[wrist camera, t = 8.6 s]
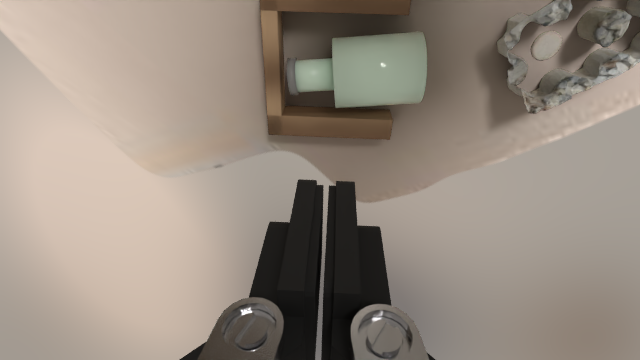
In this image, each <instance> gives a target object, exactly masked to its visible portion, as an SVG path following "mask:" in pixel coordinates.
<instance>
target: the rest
mask: <svg viewBox="0 0 640 360" xmlns="http://www.w3.org/2000/svg"><path fill="white" fill-rule="evenodd" d="M410 4H411V0H260V11H261V26H262V41H263V57H264V72H265V87H266V102H267V117H268V132H269V135H292V136H316V137H339V138H363V139H387V140H390V136H391V130H392V123H393V119H392V116H391V113H390V110H385V109H360V108H335V107H310V106H285V83H284V54H283V25H282V11H297V12H328V13H359V14H391V15H409V10H410Z"/></svg>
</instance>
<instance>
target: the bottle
mask: <svg viewBox="0 0 640 360" xmlns="http://www.w3.org/2000/svg"><path fill="white" fill-rule="evenodd" d="M426 78H427V49H426V41H425V37H424V34H423V33H422V32H421V31H420V32H407V33H393V34H380V35H367V36H354V37H341V38H332V58H325V59H311V60H297V58H288V59H287V81H288V88H289V92H290V95H299V94H300V92H311V91H327V90H334V97H335V107H336V108H346V107H363V106H380V105H397V104H414V103H420V102H421V101H422V99H423V96H424V92H425V86H426Z"/></svg>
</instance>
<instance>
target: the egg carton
mask: <svg viewBox="0 0 640 360" xmlns="http://www.w3.org/2000/svg"><path fill="white" fill-rule="evenodd" d="M598 1H602V0H598ZM572 8H573V7H572V4H571V0H554V1H553V2H552V3H550V4H548V5H547V6H545V7H544V8H542V9H540V10H539V11H537V12H535V13H534V14H532V15H530V16H528V15H526V14H522V13H520V14H517V15H515V16H513V17H511V18H510V19H508V21H507V24H508V25H507V30H506V32H505V34H504V35H503V37H502V38H500V39H499V40H498V41H497V47H498V52H499V53H500V54H502V55H504V56H505V57H507V58H508V60H509V62H510V64H512V65H513V67H511V68H510V69H509V70H507V71H508V78H507V84H508V88H509V89H510V90H511V91H513V92H514V93H515V94H517V95H519V96H523V98H524V104H525V106H526V108H527V111H528V113H533V114H535V113H538V112H539V111H542V110H548V109H550V108H552V107H554V106H556V105H560V104H562V103H564V102H566V101H567V100H569V99H572V95H573V94H576V93H579V92H582V91H586V90H589V89H591V88H592V86H594V85H596V84H599V83H601V82H603V81H605V80H608V79H611V78H614V77H617V76H619V75H621V74H622V73H624V72H625V71H627V70H629V69H630V68H632V67H634V66H635V65H636V64H637V63H639V62H640V32H638V33H637V34H636V36H635V37H634V38H633V40H632V41H631V45H630V48H628V49H627V50H625V51H623V52H618V51H615V50H612V49H609V48H601V49H598V50H596V51H594V52H593V53H591V54H590V55H589V56H588V57H587V58H586V60H585V62H584V65H583V67H582V68H581V69H579V70H577V71H576V72H574V73H570V72H569V71H566V70H563V69H554V70H551V71H550V72H548V73H547V74H546V75H544V77H543V78H542V79H541V82H540V84H539V88H538V89H536V90H534V91H532V92H528V93H527V92H526V91H524V90H523V89H521V88H518V87H517V85H518V84H520V83H521V82H522V81H523V80H524V79H525V77H526V74H527V71H528V65H527V63H526V61H525V60H524V59H522V58H520V57H518V56H516V55H514V54H512V53H510V52H508V50H512V48H513V47H514V46H515V45H516V44H517V43H518V42H519V40H520V35H521V32H522V30H523V28H524V27H525V26H526V25H527V24H528V23H529V22H534V23H537V24H541V25H543V26H548V25H552V24H554V23H556V22H558V21H560V20H566V19H567V18H568V15H569V13H570V11H571V10H572ZM627 11H628V13H629V14H631V15H632V16H638V17H640V0H628V2H627ZM628 13H627V12H625V11H624V10H620V9H613V8H608V7H595V8H592V9H590V10H589V11H587V12H586V13H585V14H584V15H583V16H582V18H581V19H580V21H579V23H578V25H577V32H578V35H579V36H580V37H581V38H584V39H586V40H589V41H592V42H595V43H597V44H600V45H601V46H602V47H608V46H609V45H610V44H611V43H613V42H615V41H617V40H618V39H620V38H621V37H622V36H623V35H624V33H625V32H626V30H627V29H628V26H629V22H630V20H631V17H632V16H631V15H629V14H628ZM561 44H562V37H561V35H560V34H559V33H558V32H555V31H547V32H544V33H542V34H541V35H539V36H538V37H537V38H536V39H535V41H534V42H533V44H532V46H531V54H532V56H533V57H534V58H535V59H537V60H546V59H549V58H551V57H553V56H554V55H555V54H556V53H557V52H558V51H559V49H560V47H561Z"/></svg>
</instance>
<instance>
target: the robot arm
mask: <svg viewBox="0 0 640 360" xmlns="http://www.w3.org/2000/svg"><path fill="white" fill-rule="evenodd" d="M322 224H323V185H317V181H316V180H298V183H297V189H296V193H295V199H294V204H293V209H292V214H291V219H290V223H288V222H270V223H269V226H268V229H267V232H266V236H265V240H264V244H263V247H262V251H261V254H260V259H259V262H258V266H257V269H256V273H255V277H254V280H253V284H252V288H251V292H250V295H249V298H246V299H241V300H239V301H237V302H235V303H233V304H232V305H230V306H229V307H228V308H227V309H226V310H224V311H223V313H222V314H221V316H220V317H219V319H218V320H217V322H216V324H215V326H214V328H213V330H212V332H211V334H210V336H209V338H208V340H207V342H205V343H204V344H202V345H201V346H199V347H198V348H196V349H195V350H193V351H192V352H190V353H189V354H187V355H186V356H184V357H183V358H181V359H180V360H315V351H316V336H317V320H318V305H319V290H320V275H321V274H320V273H321V259H322ZM321 360H435V359H434V358H433V357H432V356H430V355H429V354H428V353H427V352H426V350H425V347H424V344H423V341H422V339H421V336H420V333H419V331H418V329H417V327H416V325H415V323H414V321H413V320H412V319H411V318H410V317H409V316H408V315H407V314H406V313H404V312H403V311H401V310H400V309H398V308H396V307H393V306H391V300H390V293H389V286H388V279H387V273H386V265H385V258H384V251H383V244H382V237H381V231H380V227H376V226H357V214H356V197H355V182H347V181H336V186H329V198H328V216H327V235H326V253H325V273H324V294H323V325H322V358H321Z"/></svg>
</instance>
